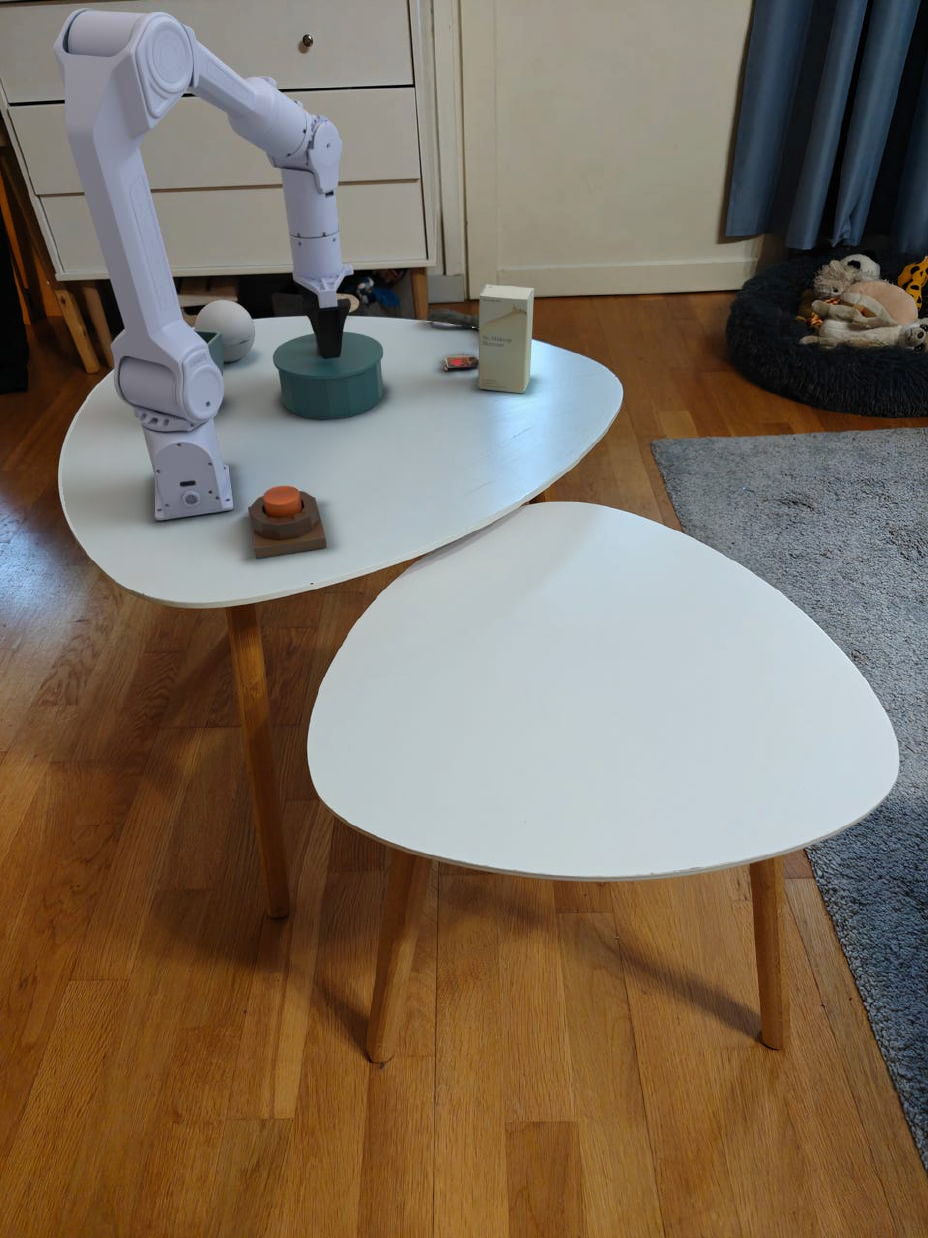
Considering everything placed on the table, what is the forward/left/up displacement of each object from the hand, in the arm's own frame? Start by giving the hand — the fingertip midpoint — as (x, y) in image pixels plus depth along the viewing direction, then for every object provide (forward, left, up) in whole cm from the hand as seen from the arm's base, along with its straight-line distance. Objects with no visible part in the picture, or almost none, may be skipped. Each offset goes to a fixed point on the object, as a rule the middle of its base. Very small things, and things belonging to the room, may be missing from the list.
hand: (327, 345), depth 116 cm
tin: (0, 0, -7) cm, 7 cm away
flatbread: (+31, -5, -7) cm, 32 cm away
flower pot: (+1, +18, -7) cm, 19 cm away
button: (-30, +9, -4) cm, 32 cm away
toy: (+16, -21, -3) cm, 27 cm away
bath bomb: (+16, +12, -7) cm, 21 cm away
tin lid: (0, 0, -1) cm, 1 cm away
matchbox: (+5, -18, -7) cm, 20 cm away
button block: (-30, +9, -7) cm, 32 cm away
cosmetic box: (-3, -22, -7) cm, 23 cm away
